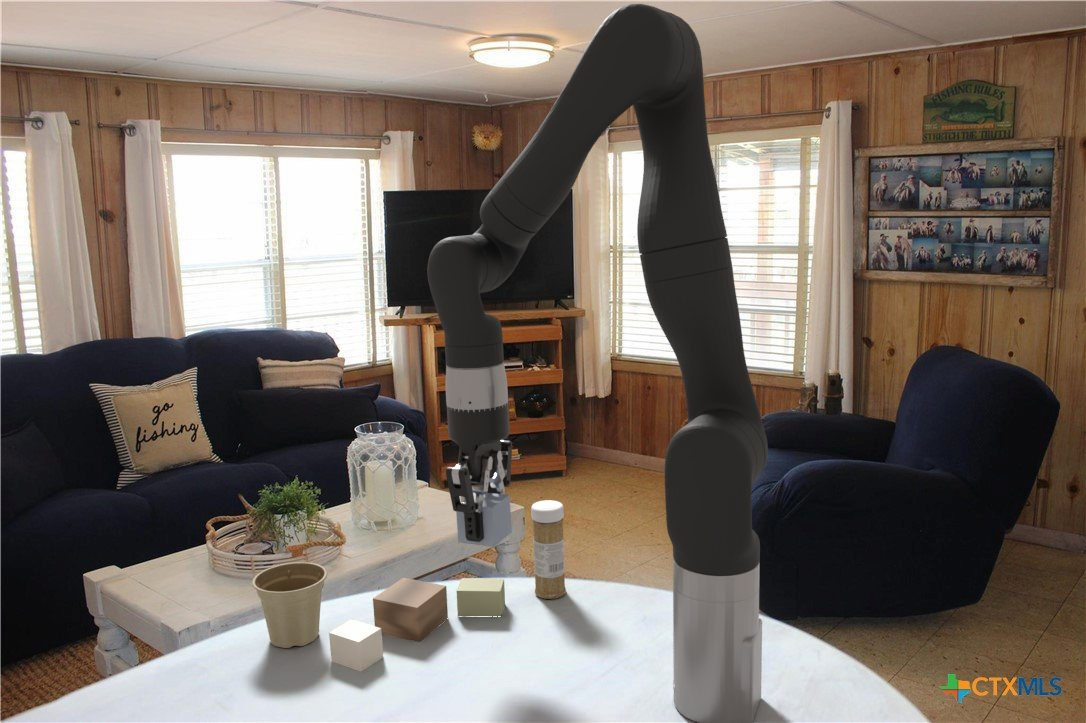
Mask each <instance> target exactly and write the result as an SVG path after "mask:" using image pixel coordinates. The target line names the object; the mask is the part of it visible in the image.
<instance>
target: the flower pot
mask: <svg viewBox="0 0 1086 723" xmlns="http://www.w3.org/2000/svg"><path fill="white" fill-rule="evenodd" d="M327 577H328V570H327V569H326V568H325V566H323V565H320V564H318V563H314V562H306V561H305V562H302V561H298V562H294V561H293V562H287V563H282V564H278V565H274V566H271V567H269V568H266V569H264V570H262V571H261V572H259V573H257V574H256V575H255V576H254V577H253V579H252V587H253V588H254V590H256V593H257V597H259V599H260V603H261V607H262V611H263V614H264V615H263V616H264V620H265V622H266V628H267V632H268V637H269V640H270V643H271V644H272V645H273V646H274V647H277V648H281V649H290V648H292V647H293V646H297V647H303V646H306V645H308V644H310V643H312V642H313V641H315V640H316V639H317V638H318V637H319V633H320V620H321V619H320V616H321V607H322V606H321V605H322V604H321V603H322V602H321V601H322V590H323V588H324V586H325V580H326V579H327Z"/></svg>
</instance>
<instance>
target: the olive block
mask: <svg viewBox="0 0 1086 723" xmlns="http://www.w3.org/2000/svg"><path fill="white" fill-rule="evenodd" d="M505 590H506V589H505V578H484V577H483V578H481V577H480V578H476V577H475V578H474V577H473V578H470V577H468V578H467V577H464V578H463V577H461V579H460V581H459V583H458V586H457V589H456V603H457V604H456V608H457V617H458V616H492V617H493V616H497V617H498V616H501V615H502V616H503V613H504V610H503V609H505V607H504V605H505V606H506V593H505V592H506V591H505ZM502 612H503V613H502Z"/></svg>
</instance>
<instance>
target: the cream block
mask: <svg viewBox="0 0 1086 723" xmlns="http://www.w3.org/2000/svg"><path fill="white" fill-rule="evenodd" d="M328 636H329V637H328V638H329V650H330V659H331V662H333V663H335V664H338V665H341V666H344V667H347V668H350V669H352V670H355V671H358V672H362V671H364V670H366V669H367V668H368V667H370V666H373V664H375V663H376V662H378V661H380V660H381V659H382V658H384V649H383V637H382V636H383V634H382V633H381V628H378V627H375V625H372V624H369V623H365V622H362V621H360V620H356V619H352V618H351V619H350V620H348V621H347V622H345V623H343V624H342V625H339V626H338V627H336V628H334V629H332V630H331V631H330V632H328Z"/></svg>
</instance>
